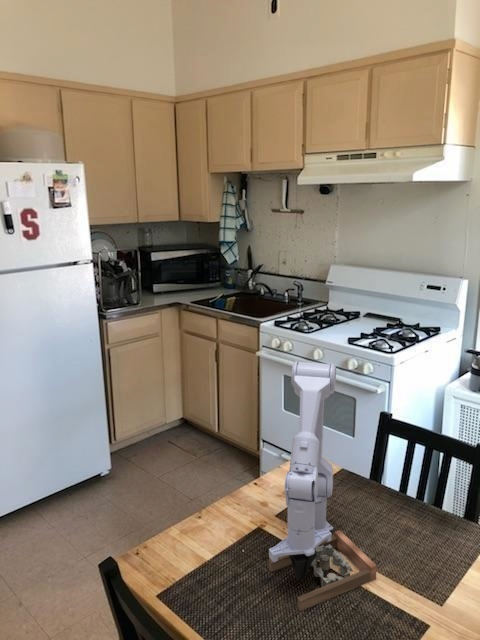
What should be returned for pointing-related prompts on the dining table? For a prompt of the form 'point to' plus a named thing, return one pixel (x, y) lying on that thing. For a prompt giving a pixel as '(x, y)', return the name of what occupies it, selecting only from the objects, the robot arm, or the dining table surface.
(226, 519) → the dining table surface
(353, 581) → the channel
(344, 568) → the egg carton
